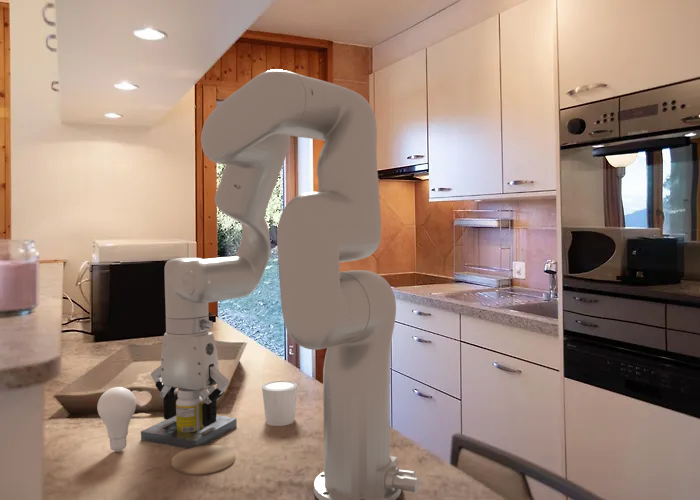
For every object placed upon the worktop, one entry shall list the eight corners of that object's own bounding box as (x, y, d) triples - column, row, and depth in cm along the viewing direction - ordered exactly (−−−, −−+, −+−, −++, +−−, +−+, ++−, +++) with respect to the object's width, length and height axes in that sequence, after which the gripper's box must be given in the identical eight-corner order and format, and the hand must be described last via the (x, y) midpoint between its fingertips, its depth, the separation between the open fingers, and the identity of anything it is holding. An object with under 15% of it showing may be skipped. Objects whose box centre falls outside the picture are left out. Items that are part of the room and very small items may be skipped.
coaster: (247, 453, 96) (247, 450, 96) (210, 478, 87) (210, 474, 87) (198, 445, 100) (198, 441, 100) (158, 468, 91) (158, 464, 91)
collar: (236, 426, 109) (236, 418, 108) (195, 450, 98) (195, 441, 97) (185, 418, 113) (185, 410, 113) (141, 440, 102) (140, 431, 102)
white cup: (255, 423, 110) (254, 387, 110) (274, 412, 116) (274, 378, 116) (285, 429, 107) (285, 392, 107) (304, 417, 113) (303, 382, 113)
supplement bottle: (193, 426, 109) (192, 383, 108) (209, 432, 106) (207, 387, 105) (171, 434, 105) (170, 389, 105) (186, 440, 102) (185, 393, 102)
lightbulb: (144, 451, 97) (142, 387, 97) (107, 462, 93) (105, 395, 92) (128, 441, 102) (126, 380, 101) (92, 451, 97) (90, 387, 97)
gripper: (239, 325, 104) (241, 419, 105) (164, 319, 111) (166, 408, 112) (214, 332, 98) (216, 433, 98) (135, 326, 104) (138, 420, 105)
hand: (189, 419), depth 105 cm, fingers open, 8 cm apart
